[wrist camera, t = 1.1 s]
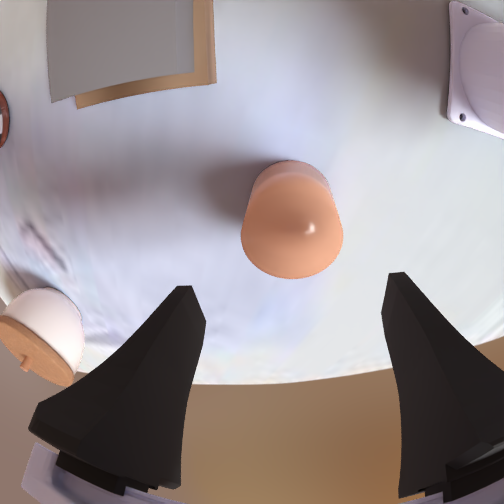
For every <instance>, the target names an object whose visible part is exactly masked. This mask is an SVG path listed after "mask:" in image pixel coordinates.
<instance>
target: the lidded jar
mask: <svg viewBox="0 0 504 504" xmlns="http://www.w3.org/2000/svg"><path fill="white" fill-rule="evenodd" d="M0 339H1V340H2V342H3V343H4V344H5V346H6V347H7V348H8V349H9V350H10V351H11V353H12V354H13V355H14V356H15V357H16V358H18V359H19V360H20V361H21V362H22V363H21V365H20V367H21V368H22V369H23V370H24V371H25V372H28V370H29V369H31V370H32V371H33V372H35V373H37V374H38V375H40V376H41V377H43V378H44V379H46V380H48V381H50V382H52V383H55V384H57V385H60V386H67V387H68V386H70V385H71V384H72V382H73V380H74V375H75V373H76V371H77V369H78V367H79V364H80V362H81V359H82V356H83V352H84V346H85V333H84V328H83V324H82V316H81V313H80V311H79V310H78V308H77V307H76V305H75V304H74V303H73V302H72V301H71V300H70V299H69V298H68V297H67V296H66V295H64V294H63V293H61V292H60V291H58V290H56V289H54V288H51V287H45V288H44V289H41V288H37V289H30V290H27V291H25V292H23V293H21V294H19V295H18V296H17V297H16V298H14V299H13V300H12V301H11V302H10V303H9V305H8V306H7V307H6V308H5V310H4V311H3V313H2V314H1V315H0Z"/></svg>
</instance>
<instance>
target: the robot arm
mask: <svg viewBox="0 0 504 504" xmlns="http://www.w3.org/2000/svg"><path fill="white" fill-rule="evenodd" d="M462 8H463V9H464V10H465V14H464V13H463V11H462ZM449 14H450V34H451V62H450V84H449V97H448V107H447V117H448V119H449V120H450V121H451V122H453V123H455V124H459V125H462V126H466V127H469V128H472V129H475V130H478V131H481V132H484V133H487V134H490V135H493V136H496V137H499V138H501V139H504V23H500V22H498V21H496V20H494V19H493V18H491V17H489V16H487V15H485V14H483V13H481V12H479V11H477V10H475V9H473V8H471V7H469V6H467V5H465V4H463V3H461V2H458V1H451V2H450V3H449ZM461 113H462V115H463V118H462V119H461V120H460V119H459V116H460V114H461ZM381 315H382V321H383V328H384V334H385V339H386V343H387V346H388V350H389V354H390V358H391V362H392V366H393V370H394V374H395V378H396V383H397V387H398V393H399V401H400V413H401V433H402V448H401V469H400V480H399V488H398V492H399V498H404V497H407V496H412V495H415V494H419V493H423V492H425V497H423V498H420V499H416V500H412V501H408V502H404V503H400V504H504V371H502V370H501V369H500V368H499V367H497V366H496V365H495V364H494V363H492V362H491V361H490V360H488V359H487V358H486V357H485V356H484V355H483V354H482V353H480V352H479V351H478V350H477V349H476V348H475V347H474V346H473V345H472V344H471V343H469V342H468V341H467V340H466V339H465V338H464V337H463V336H462V335H461V334H460V333H459V332H458V331H457V330H456V329H455V328H454V327H453V326H452V325H451V324H450V323H449V322H448V320H447V319H446V318H445V317H444V316H443V315H442V314H441V313H440V312H439V311H438V309H437V308H436V307H435V306H434V305H433V304H432V303H431V302H430V300H429V299H428V298H427V297H426V296H425V295H424V294H423V292H422V291H421V290H420V289H419V288H418V287H417V286H416V284H415V283H414V282H413V281H412V280H411V279H410V278H409V277H408V275H407V274H406V273H405V272H398V273H389V275H388V281H387V286H386V292H385V297H384V301H383V306H382V311H381ZM205 326H206V320H205V317H204V315H203V312H202V310H201V308H200V305H199V303H198V300H197V298H196V295H195V293H194V290H193V288H192V285H191V286H177V287H176V288H175V289H174V290H173V291H172V292H171V293H170V294H169V295H168V296H167V297H166V299H165V300H164V301H163V302H162V303H161V304H160V305H159V307H158V308H157V309H156V310H155V311H154V312H153V313H152V314H151V315H150V317H149V318H148V319H147V320H146V321H145V322H144V323H143V324H142V325H141V326H140V328H139V329H138V330H137V331H136V332H135V333H134V334H133V335H132V336H131V337H130V338H129V339H128V340H127V341H126V342H125V343H124V344H123V345H122V346H121V347H120V348H119V349H118V350H117V351H116V352H114V353H113V354H112V355H111V356H110V357H109V358H108V359H106V360H105V361H104V362H103V363H102V364H100V365H99V366H98V367H96V368H95V369H94V370H92V371H91V372H90V373H89V374H87V375H86V376H85V377H83V378H82V379H80V380H79V381H77V382H76V383H74V384H73V385H71V386H69V387H68V388H66V389H65V390H63V391H61V392H59V393H57V394H56V395H54V396H52V397H50V398H48V399H46V400H44V401H42V402H39V403H38V405H37V408H36V410H35V412H34V415H33V417H32V420H31V422H30V425H29V427H28V429H29V431H30V432H31V433H33V434H34V435H36V436H37V437H39V438H41V439H42V440H44V441H45V442H47V443H49V444H51V445H52V446H54V447H55V448H57V449H59V450H60V452H59V455H58V454H56V453H54V452H52V451H50V450H49V449H47V448H45V447H44V446H42V445H40V444H39V443H35V445H34V447H33V450H32V453H31V456H30V459H29V462H28V465H27V468H26V471H25V474H24V477H23V481H22V484H21V487H22V488H23V489H24V490H25V491H26V492H28V493H29V494H30V495H31V496H33V497H34V498H35V499H36V500H37V501H39V502H40V503H41V504H186V503H181V502H177V501H173V500H170V499H165V498H162V497H158V496H155V495H151V494H148V493H147V492H148V488H151V489H154V490H157V489H158V486H162V487H165V488H169V489H176V488H178V487H179V486H181V451H182V438H183V428H184V420H185V413H186V407H187V401H188V396H189V392H190V388H191V385H192V381H193V378H194V374H195V371H196V367H197V364H198V360H199V357H200V353H201V350H202V346H203V340H204V334H205Z"/></svg>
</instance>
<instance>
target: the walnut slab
mask: <svg viewBox="0 0 504 504" xmlns="http://www.w3.org/2000/svg"><path fill="white" fill-rule="evenodd" d="M193 35H194V69H195V72H193V73H183V74H175V75H167V76H160V77H154V78H148V79H142V80H137V81H131V82H126V83H122V84H117V85H113V86H108V87H104V88H100V89H96V90H93V91H89V92H85V93H82V94H78V95H75V98H76V105H77V109H80V108H84V107H87V106H91V105H95V104H98V103H102V102H106V101H110V100H115V99H119V98H124V97H128V96H133V95H138V94H144V93H149V92H155V91H161V90H168V89H175V88H182V87H191V86H200V85H209V84H214V83H217V79H216V60H215V39H214V14H213V0H193Z"/></svg>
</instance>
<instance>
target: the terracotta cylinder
mask: <svg viewBox="0 0 504 504" xmlns="http://www.w3.org/2000/svg"><path fill="white" fill-rule="evenodd" d="M241 242H242V247H243V250H244V252H245V254H246V255H247V257H248V259H249V260H250V261H251V262H252V263H253V264H254V265H255V266H256V267H257V268H259V269H260V270H262V271H263V272H265V273H267V274H270V275H272V276H275V277H279V278H285V279H299V278H305V277H309V276H312V275H315V274H317V273H319V272H321V271H323V270H324V269H326V268H327V267H328V266H329V265H330V264H331V263H332V262H333V261H334V260H335V259H336V257H337V256H338V254H339V252H340V250H341V247H342V243H343V230H342V225H341V222H340V218H339V215H338V212H337V208H336V205H335V202H334V199H333V196H332V192H331V189H330V186H329V184H328V182H327V180H326V178H325V177H324V176H323V174H322V173H321V172H320V171H319V170H317V169H316V168H315V167H313V166H311V165H309V164H307V163H304V162H300V161H293V160H291V161H281V162H278V163H275V164H273V165H271V166H269V167H267V168H266V169H265V170H263V171H262V172H261V173H260V174H259V176H258V177H257V179H256V180H255V182H254V185H253V188H252V191H251V195H250V199H249V203H248V206H247V210H246V214H245V218H244V221H243V225H242V230H241Z"/></svg>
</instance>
